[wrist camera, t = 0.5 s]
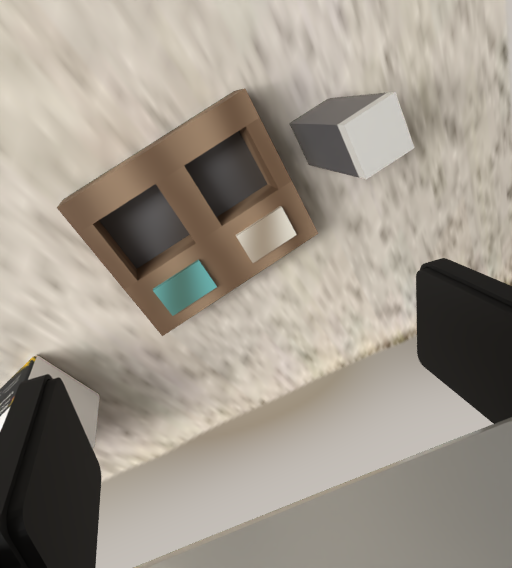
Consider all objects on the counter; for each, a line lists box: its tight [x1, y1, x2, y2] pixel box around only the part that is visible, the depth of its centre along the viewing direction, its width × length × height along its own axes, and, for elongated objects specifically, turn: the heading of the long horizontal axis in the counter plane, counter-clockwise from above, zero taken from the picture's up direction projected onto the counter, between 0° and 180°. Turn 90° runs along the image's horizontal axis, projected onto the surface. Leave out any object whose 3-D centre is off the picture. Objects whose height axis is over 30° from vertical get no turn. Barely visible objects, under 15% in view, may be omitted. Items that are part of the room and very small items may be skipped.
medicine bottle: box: [0, 356, 99, 449], centre depth 33 cm, size 7×7×12 cm
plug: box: [290, 92, 414, 179], centre depth 32 cm, size 4×4×10 cm
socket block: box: [57, 89, 318, 336], centre depth 34 cm, size 16×13×4 cm
